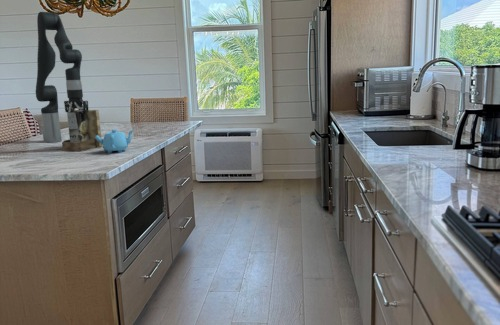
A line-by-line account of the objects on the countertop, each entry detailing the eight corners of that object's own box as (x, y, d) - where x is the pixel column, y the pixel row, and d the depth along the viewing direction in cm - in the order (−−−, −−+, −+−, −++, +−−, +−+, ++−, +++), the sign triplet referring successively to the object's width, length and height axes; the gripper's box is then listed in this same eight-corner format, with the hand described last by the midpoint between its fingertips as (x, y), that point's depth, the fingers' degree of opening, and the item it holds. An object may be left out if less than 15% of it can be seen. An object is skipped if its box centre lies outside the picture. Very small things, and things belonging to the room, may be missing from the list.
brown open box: (62, 150, 230) (61, 141, 229) (79, 146, 241) (78, 137, 240) (81, 151, 225) (80, 141, 224) (96, 147, 236) (95, 138, 235)
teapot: (122, 148, 232) (120, 126, 230) (136, 150, 223) (134, 128, 221) (95, 152, 221) (93, 130, 219) (109, 155, 212) (107, 132, 210)
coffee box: (80, 143, 228) (77, 112, 225) (69, 143, 229) (66, 112, 226) (90, 140, 237) (87, 110, 233) (79, 140, 238) (76, 110, 235)
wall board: (76, 146, 241) (72, 110, 237) (78, 145, 243) (74, 109, 239) (99, 147, 236) (95, 110, 232) (102, 146, 238) (98, 110, 233)
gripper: (90, 88, 228) (93, 119, 232) (68, 88, 233) (72, 119, 237) (80, 89, 221) (83, 121, 225) (58, 89, 226) (62, 121, 230)
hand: (77, 120), depth 231 cm, fingers closed on coffee box, 7 cm apart
